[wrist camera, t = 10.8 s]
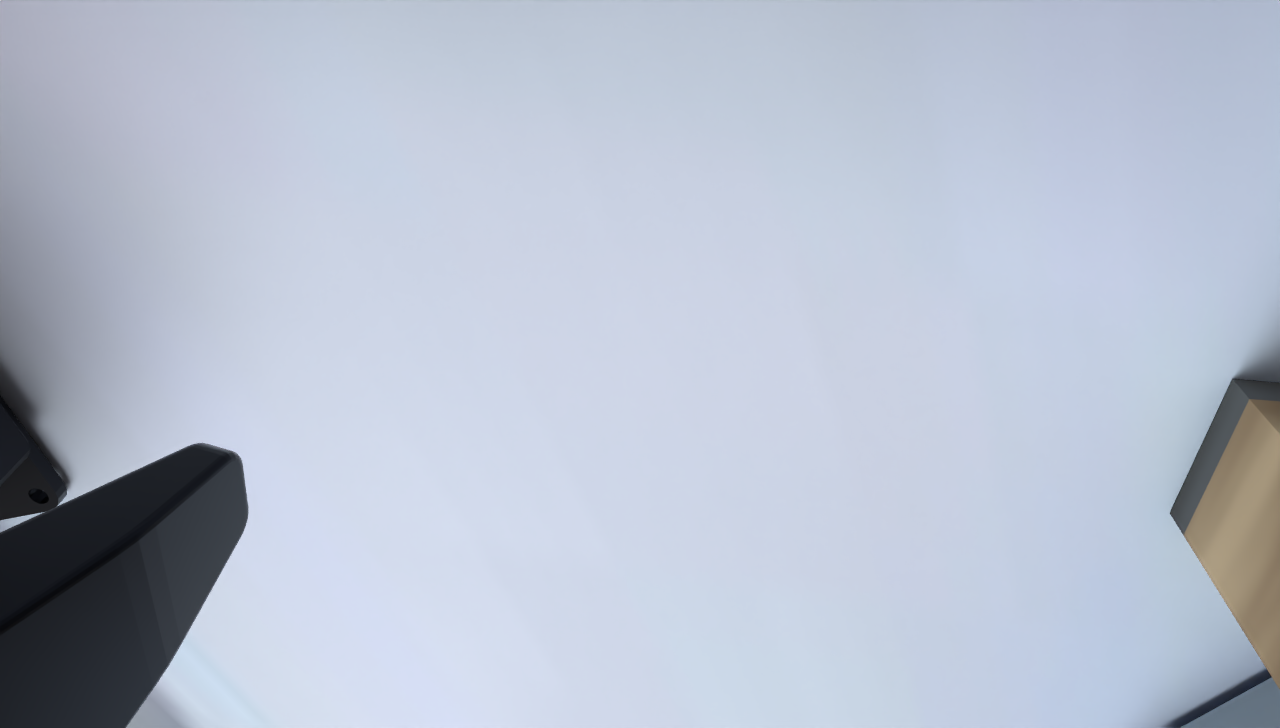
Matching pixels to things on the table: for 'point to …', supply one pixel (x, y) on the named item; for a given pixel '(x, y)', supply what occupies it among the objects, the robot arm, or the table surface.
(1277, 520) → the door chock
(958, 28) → the table surface
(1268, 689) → the door
